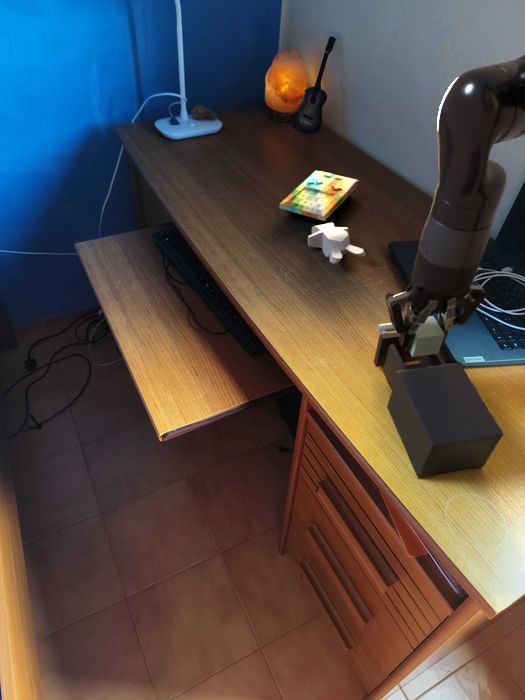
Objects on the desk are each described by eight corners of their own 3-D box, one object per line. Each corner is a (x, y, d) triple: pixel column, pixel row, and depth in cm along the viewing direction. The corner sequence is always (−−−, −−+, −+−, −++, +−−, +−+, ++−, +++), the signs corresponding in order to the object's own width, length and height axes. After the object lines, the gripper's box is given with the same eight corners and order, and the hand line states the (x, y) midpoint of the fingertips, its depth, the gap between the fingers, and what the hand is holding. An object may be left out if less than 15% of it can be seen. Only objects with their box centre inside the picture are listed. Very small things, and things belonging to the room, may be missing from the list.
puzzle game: (359, 176, 117) (324, 212, 105) (356, 194, 120) (322, 231, 109) (317, 166, 121) (279, 200, 110) (316, 183, 125) (279, 218, 113)
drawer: (365, 344, 82) (371, 316, 77) (411, 338, 82) (419, 309, 78) (397, 417, 71) (406, 389, 66) (449, 409, 72) (462, 380, 67)
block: (427, 335, 71) (433, 315, 68) (438, 353, 69) (445, 334, 66) (402, 338, 71) (407, 319, 68) (412, 357, 68) (418, 338, 65)
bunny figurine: (338, 214, 106) (371, 241, 95) (337, 235, 109) (369, 264, 98) (300, 222, 104) (329, 251, 93) (300, 243, 107) (328, 273, 96)
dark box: (386, 406, 73) (396, 371, 67) (444, 398, 74) (459, 362, 68) (417, 478, 65) (432, 445, 59) (482, 468, 66) (504, 434, 59)
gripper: (407, 272, 54) (383, 370, 66) (521, 258, 55) (477, 357, 68) (385, 237, 59) (366, 334, 72) (490, 225, 60) (454, 322, 73)
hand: (420, 344), depth 70 cm, fingers closed on block, 4 cm apart
